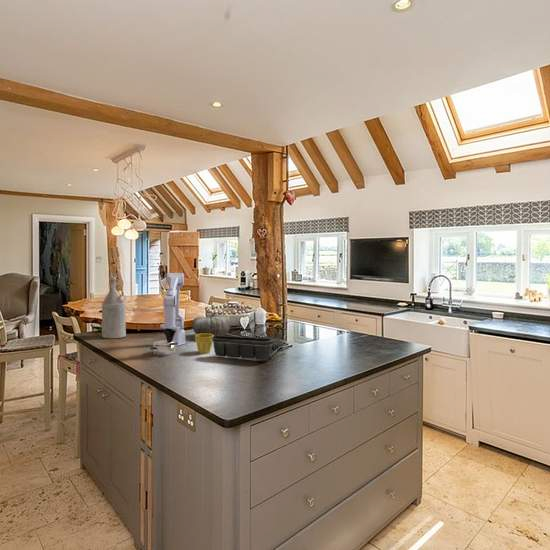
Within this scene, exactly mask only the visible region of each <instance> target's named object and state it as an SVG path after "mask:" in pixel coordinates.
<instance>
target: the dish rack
mask: <svg viewBox="0 0 550 550" xmlns="http://www.w3.org/2000/svg"><path fill="white" fill-rule="evenodd" d="M279 335H280V333H279V332H278V331H275V332H273V334H271V335H270V332H269V330H266V331H265V332H263V333H261V334H260V331H259V330H255V331H254V332H252V333H251V331H250V330H249V329H248V330H245V331H243V332H241V330H239V329H236V330H235V331H232V332H231V333H229V334H226V335H224V336H213V337H212V339H213V340H212V341H213V342H212V344H213V349H214V354H215V355H216V356H217V357H227V358H237V359H239V358H240V357H241V359H251V360H253V359H256V360H269V359H270V357H272V356H273V355H274V354H275V352H277V351H278V350H279V349H280V348H281V346H282V347H283V346H284V345H285V344H286V341H287V340H286V339H285V340H280V337H279ZM284 343H285V344H284ZM273 349H274V351H273ZM272 358H273V357H272Z"/></svg>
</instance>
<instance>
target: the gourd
mask: <svg viewBox="0 0 550 550" xmlns="http://www.w3.org/2000/svg"><path fill="white" fill-rule="evenodd" d="M215 314H216V312H215V311H214V312H213V313H212V315H211V316H203V315H199V316H196V317H195V318H194V319H193V321H192V325H191V326H192V327H191V328H192V329H193V332H194V333H195V335H197V334H213V335H214V336H226V335H228V333H229V331H230V329H231V321H230V319H229V318H228V316H225V315H220V316H215Z"/></svg>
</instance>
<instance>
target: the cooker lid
mask: <svg viewBox="0 0 550 550" xmlns="http://www.w3.org/2000/svg"><path fill="white" fill-rule="evenodd" d="M153 345H155V346H165V345H176V343H175V340H172V343H168V342H167V339H165V340H164V339H162V340H156V341H152V346H153Z"/></svg>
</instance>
